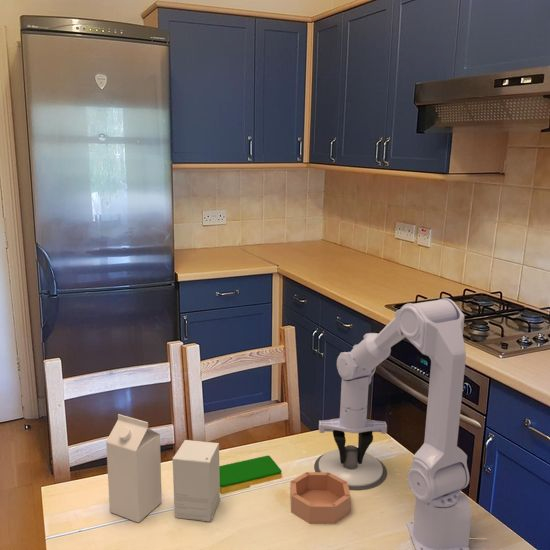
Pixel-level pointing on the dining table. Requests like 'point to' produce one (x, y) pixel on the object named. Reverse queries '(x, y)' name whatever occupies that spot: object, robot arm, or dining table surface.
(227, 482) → the dish sponge
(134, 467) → the milk carton
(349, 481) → the lid
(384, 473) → the mat
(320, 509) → the bowl
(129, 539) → the dining table surface
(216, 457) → the supplement box
